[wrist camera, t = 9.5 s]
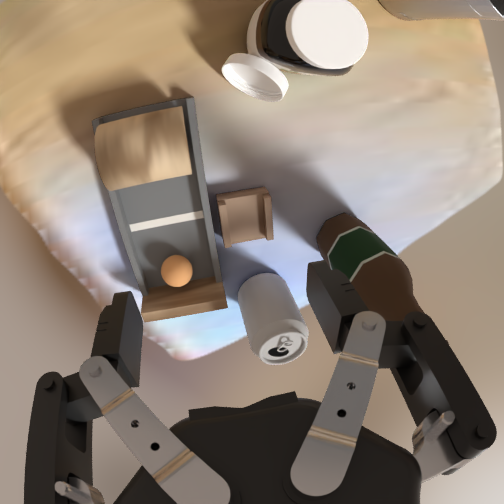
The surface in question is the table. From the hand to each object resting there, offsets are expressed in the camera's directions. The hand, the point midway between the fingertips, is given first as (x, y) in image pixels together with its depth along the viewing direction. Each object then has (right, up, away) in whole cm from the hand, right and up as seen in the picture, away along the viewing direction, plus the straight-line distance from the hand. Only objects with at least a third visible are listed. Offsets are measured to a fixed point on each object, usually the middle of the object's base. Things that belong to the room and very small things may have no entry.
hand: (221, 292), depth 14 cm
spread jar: (+4, +24, +16) cm, 29 cm away
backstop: (-8, -3, +29) cm, 30 cm away
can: (+3, -4, +33) cm, 33 cm away
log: (-10, +14, +18) cm, 25 cm away
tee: (0, +7, +25) cm, 26 cm away
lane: (-9, +8, +22) cm, 25 cm away
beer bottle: (+14, +4, +30) cm, 33 cm away
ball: (-8, -1, +24) cm, 26 cm away
